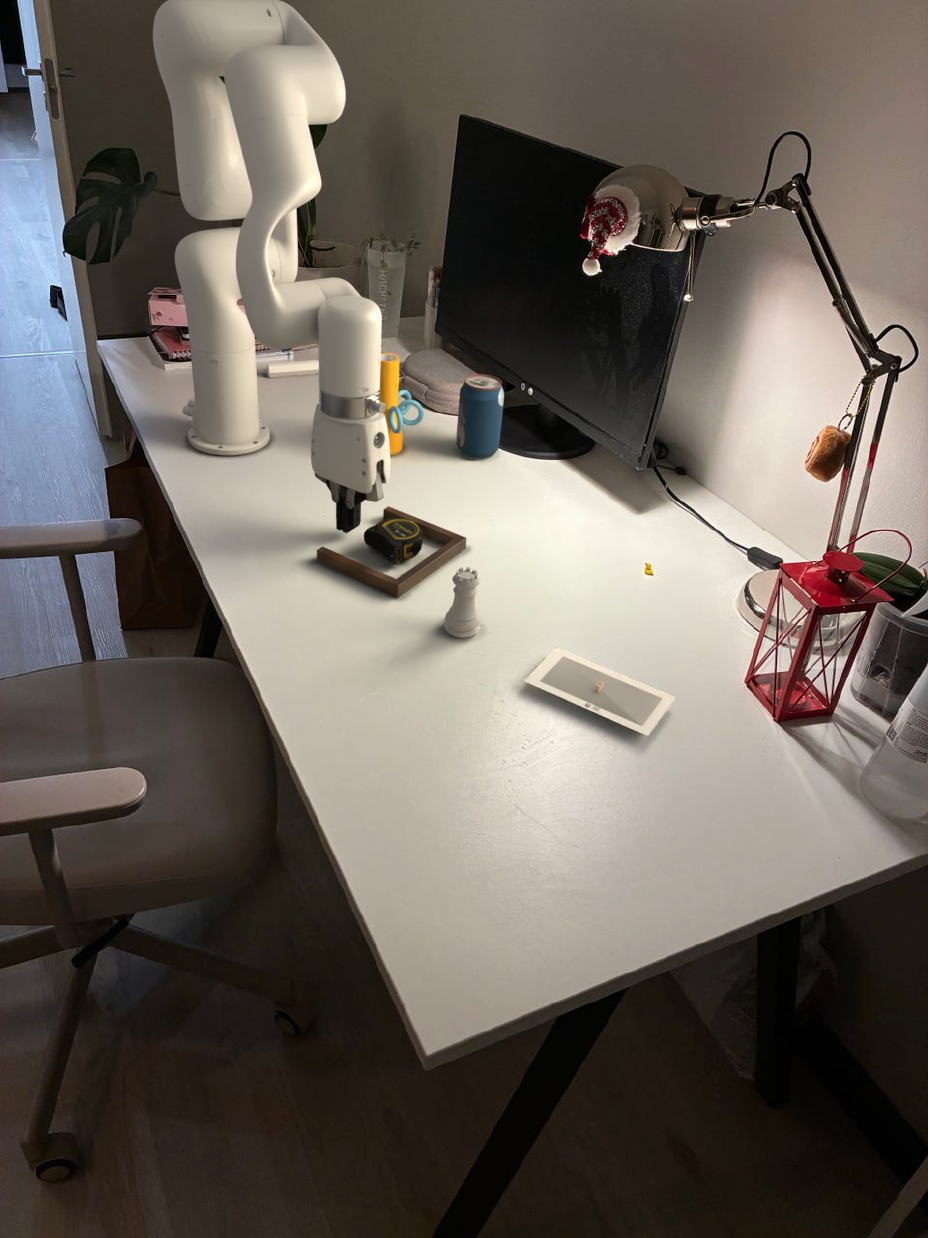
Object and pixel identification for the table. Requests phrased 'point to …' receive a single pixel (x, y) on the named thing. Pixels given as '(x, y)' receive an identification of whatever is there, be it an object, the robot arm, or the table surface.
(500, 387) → the soda can
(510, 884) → the table surface
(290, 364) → the marker
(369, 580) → the frame
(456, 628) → the rook chess piece
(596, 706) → the touchpad
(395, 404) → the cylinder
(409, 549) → the tape measure
